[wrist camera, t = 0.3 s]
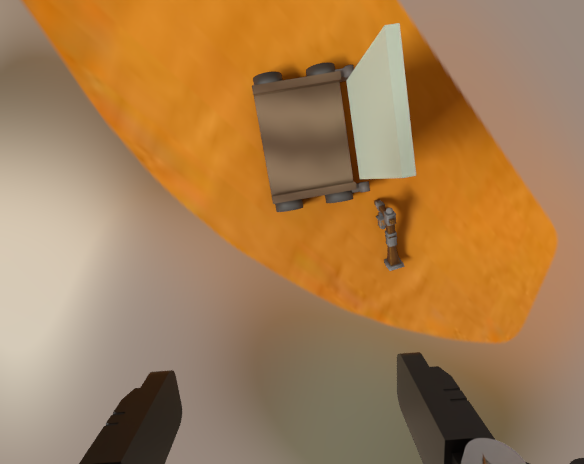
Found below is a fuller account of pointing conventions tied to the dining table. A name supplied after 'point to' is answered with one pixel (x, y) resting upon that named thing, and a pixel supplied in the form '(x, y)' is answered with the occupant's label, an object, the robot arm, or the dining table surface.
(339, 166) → the flatbed
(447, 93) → the dining table surface
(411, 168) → the panel
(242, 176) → the dining table surface
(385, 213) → the wooden post with brackets
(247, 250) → the dining table surface
